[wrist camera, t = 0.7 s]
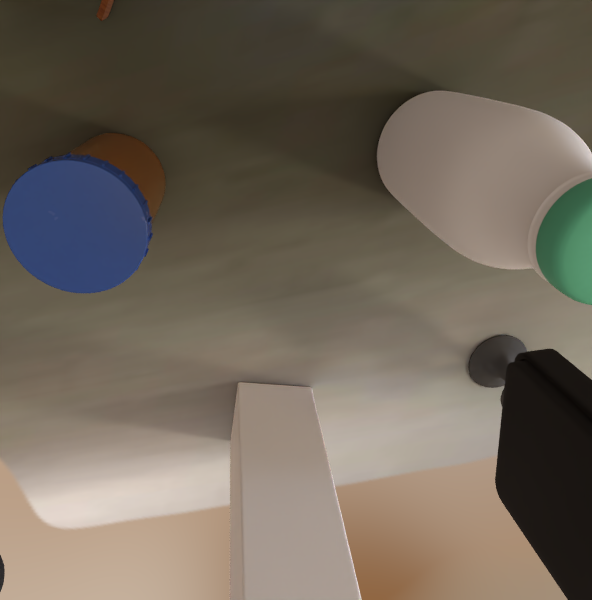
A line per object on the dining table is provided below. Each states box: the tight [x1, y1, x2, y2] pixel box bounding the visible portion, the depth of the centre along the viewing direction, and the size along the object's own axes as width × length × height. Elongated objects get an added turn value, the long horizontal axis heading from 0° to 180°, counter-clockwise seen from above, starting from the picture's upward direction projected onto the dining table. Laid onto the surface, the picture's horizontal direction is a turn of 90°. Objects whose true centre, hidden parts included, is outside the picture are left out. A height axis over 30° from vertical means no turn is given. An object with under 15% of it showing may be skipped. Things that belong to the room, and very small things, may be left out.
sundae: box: [469, 336, 527, 407], centre depth 38 cm, size 7×7×15 cm
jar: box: [69, 133, 166, 224], centre depth 31 cm, size 6×6×10 cm
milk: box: [230, 382, 361, 600], centre depth 35 cm, size 6×6×22 cm
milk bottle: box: [377, 91, 592, 305], centre depth 28 cm, size 8×8×20 cm
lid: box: [3, 153, 153, 293], centre depth 26 cm, size 7×7×2 cm
